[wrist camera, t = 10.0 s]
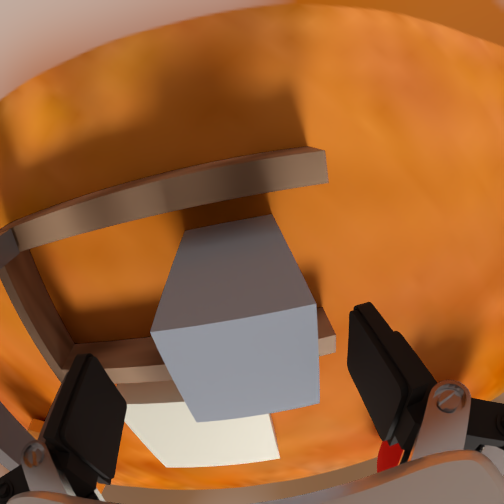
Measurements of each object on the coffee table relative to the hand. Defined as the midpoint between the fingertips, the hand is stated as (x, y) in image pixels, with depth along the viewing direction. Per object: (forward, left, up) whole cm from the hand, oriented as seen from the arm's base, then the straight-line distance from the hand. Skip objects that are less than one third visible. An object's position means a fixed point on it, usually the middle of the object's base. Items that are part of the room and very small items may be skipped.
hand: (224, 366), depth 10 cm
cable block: (-1, 0, -9) cm, 9 cm away
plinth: (+5, +15, -8) cm, 18 cm away
